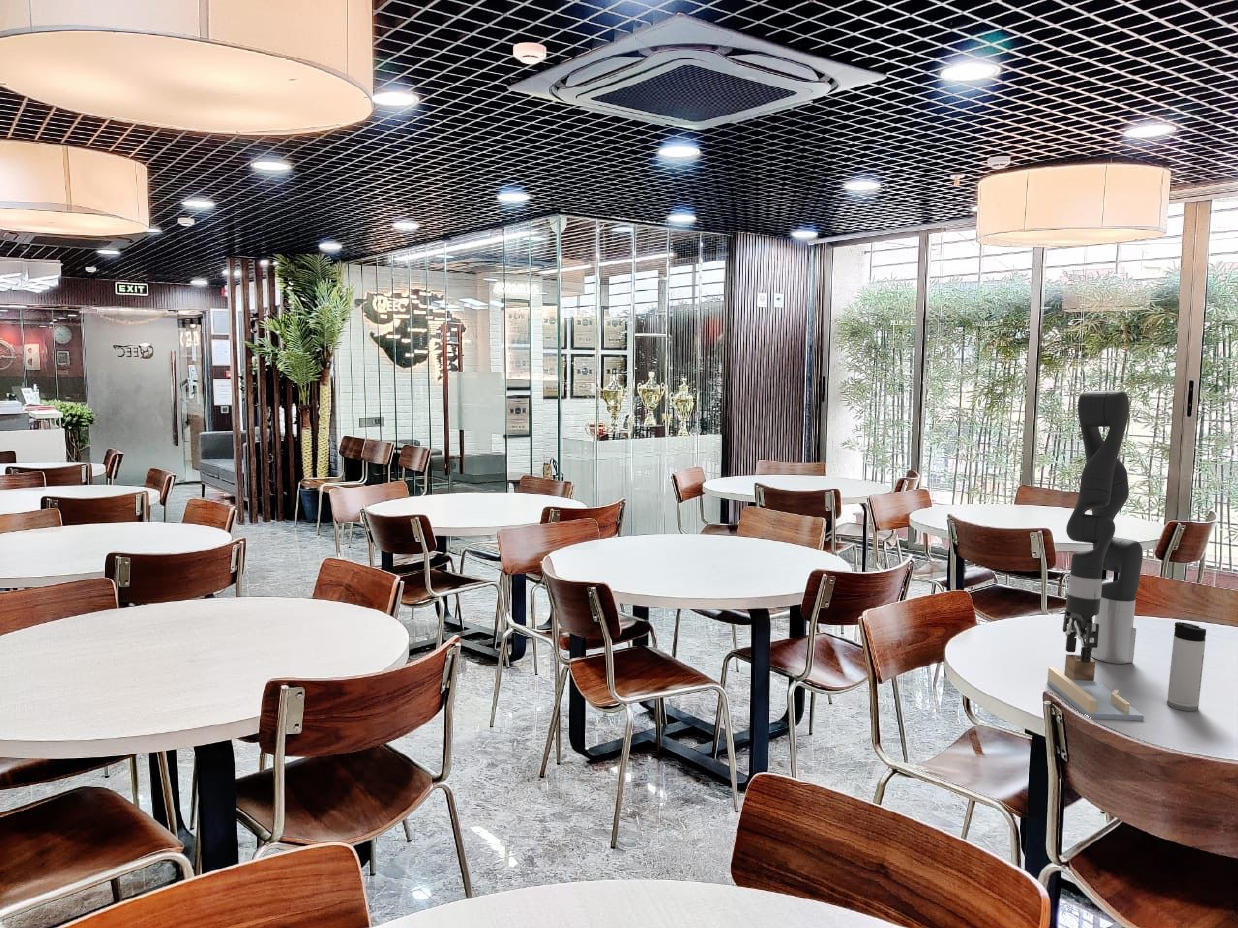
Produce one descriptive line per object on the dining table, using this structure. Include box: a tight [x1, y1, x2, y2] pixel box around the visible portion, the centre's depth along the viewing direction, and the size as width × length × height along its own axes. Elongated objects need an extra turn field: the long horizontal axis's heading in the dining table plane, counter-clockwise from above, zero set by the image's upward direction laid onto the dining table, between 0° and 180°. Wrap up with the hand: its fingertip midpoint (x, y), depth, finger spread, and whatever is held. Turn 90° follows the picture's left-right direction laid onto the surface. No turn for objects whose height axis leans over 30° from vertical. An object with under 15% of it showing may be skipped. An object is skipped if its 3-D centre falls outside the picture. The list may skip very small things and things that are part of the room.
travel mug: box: [1166, 621, 1207, 712], centre depth 210 cm, size 6×7×20 cm
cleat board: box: [1046, 666, 1145, 722], centre depth 213 cm, size 12×22×4 cm, turn 177°
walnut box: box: [1063, 654, 1096, 681], centre depth 227 cm, size 5×5×7 cm
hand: (1077, 656), depth 227 cm, fingers open, 8 cm apart
